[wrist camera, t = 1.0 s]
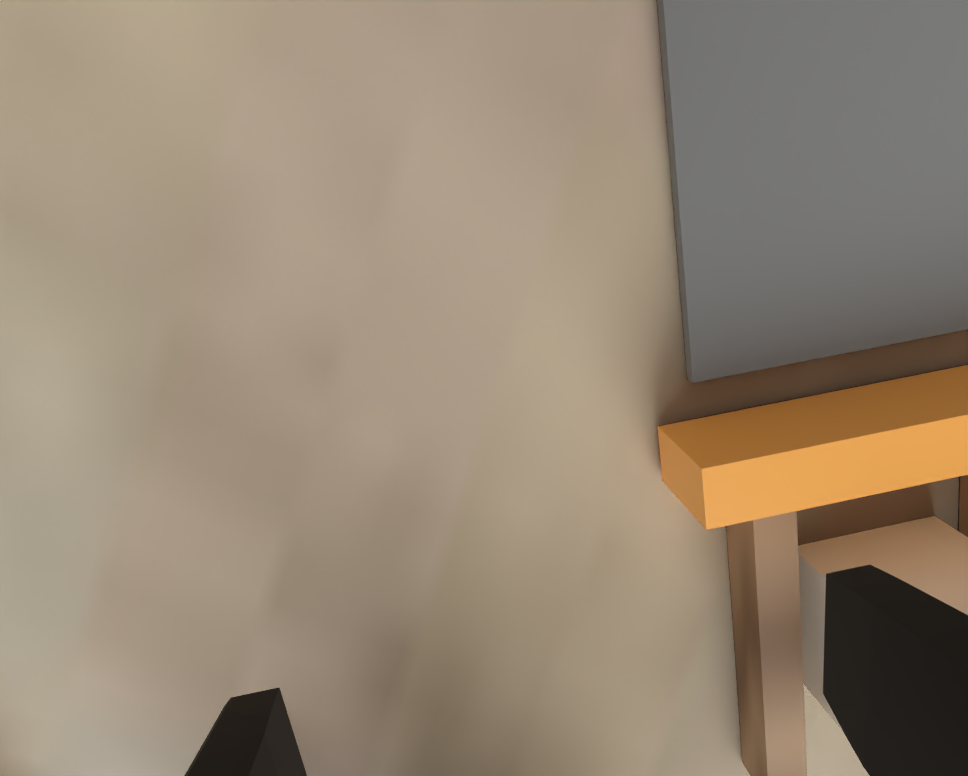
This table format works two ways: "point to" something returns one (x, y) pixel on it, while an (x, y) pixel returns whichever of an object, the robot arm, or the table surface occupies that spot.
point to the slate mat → (816, 175)
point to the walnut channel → (774, 640)
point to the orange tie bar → (819, 448)
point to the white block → (894, 549)
